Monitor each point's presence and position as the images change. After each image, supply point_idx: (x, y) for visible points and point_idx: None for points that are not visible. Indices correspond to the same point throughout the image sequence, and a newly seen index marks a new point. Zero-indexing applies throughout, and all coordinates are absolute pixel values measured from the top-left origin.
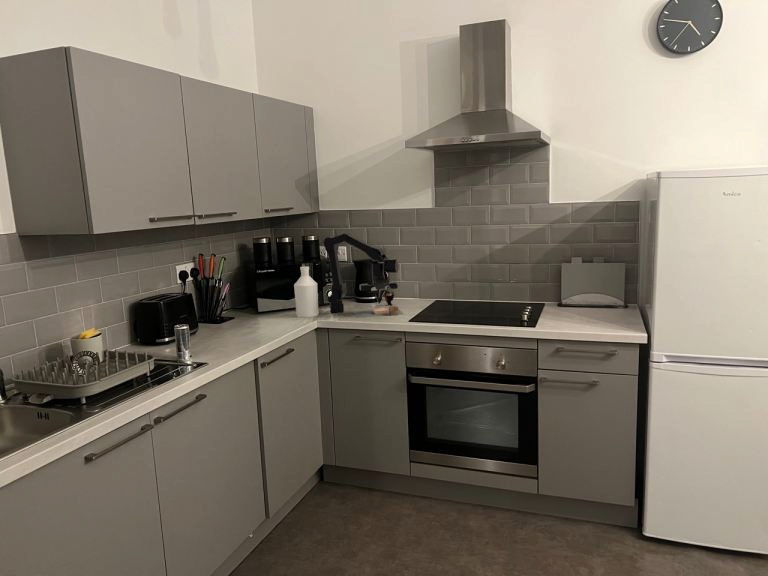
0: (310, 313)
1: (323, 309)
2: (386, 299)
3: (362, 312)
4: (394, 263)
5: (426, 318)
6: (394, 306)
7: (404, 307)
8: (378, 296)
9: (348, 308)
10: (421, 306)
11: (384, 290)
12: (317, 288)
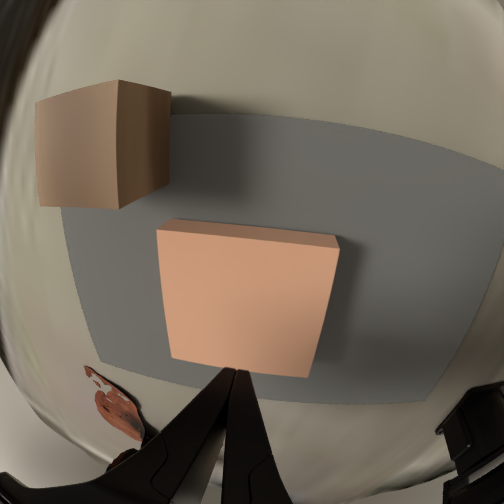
0: None
1: None
2: None
3: (389, 366)
4: None
5: (10, 10)
6: (59, 159)
7: (77, 370)
8: (229, 460)
9: (371, 462)
10: (17, 336)
11: (15, 501)
12: None
